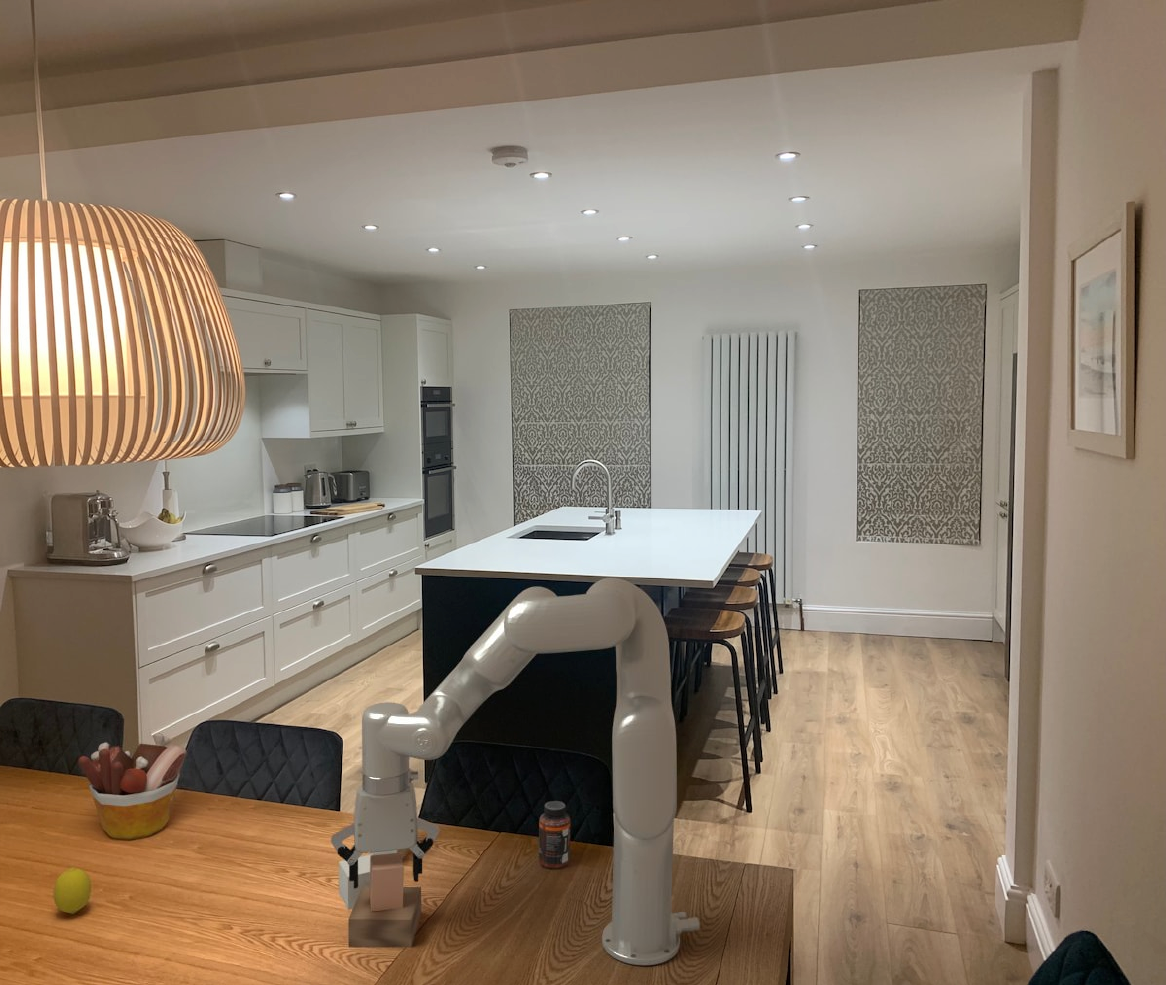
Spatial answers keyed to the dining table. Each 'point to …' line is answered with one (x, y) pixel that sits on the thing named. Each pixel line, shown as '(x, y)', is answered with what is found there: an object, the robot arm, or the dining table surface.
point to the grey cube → (347, 886)
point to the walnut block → (384, 921)
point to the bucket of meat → (134, 786)
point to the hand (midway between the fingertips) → (385, 880)
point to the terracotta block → (386, 881)
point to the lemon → (72, 890)
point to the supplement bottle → (554, 836)
